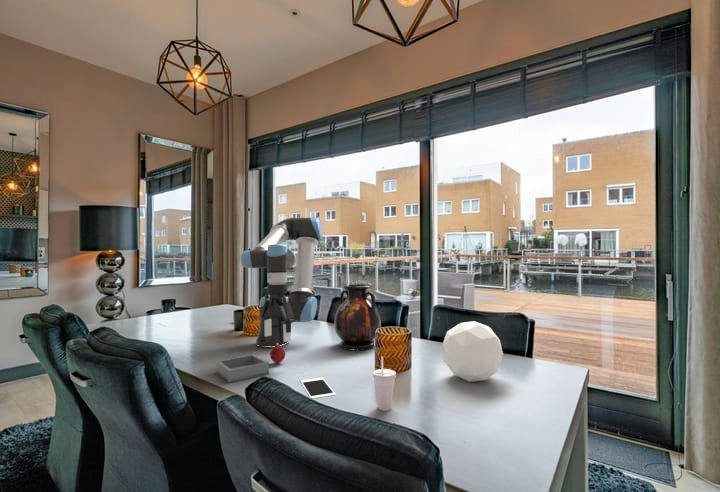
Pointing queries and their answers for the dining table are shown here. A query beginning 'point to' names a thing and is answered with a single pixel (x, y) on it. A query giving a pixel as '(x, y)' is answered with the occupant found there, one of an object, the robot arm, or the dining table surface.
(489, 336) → the geometric orb
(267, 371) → the box
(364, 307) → the amphora vase
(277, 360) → the onion
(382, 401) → the smoothie
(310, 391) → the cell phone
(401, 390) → the dining table surface
